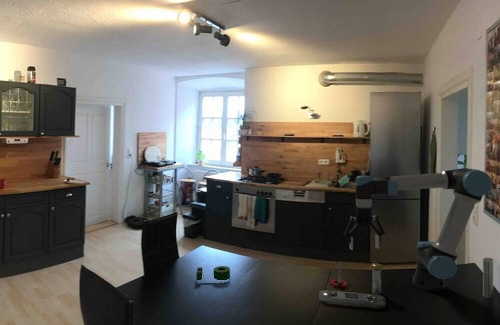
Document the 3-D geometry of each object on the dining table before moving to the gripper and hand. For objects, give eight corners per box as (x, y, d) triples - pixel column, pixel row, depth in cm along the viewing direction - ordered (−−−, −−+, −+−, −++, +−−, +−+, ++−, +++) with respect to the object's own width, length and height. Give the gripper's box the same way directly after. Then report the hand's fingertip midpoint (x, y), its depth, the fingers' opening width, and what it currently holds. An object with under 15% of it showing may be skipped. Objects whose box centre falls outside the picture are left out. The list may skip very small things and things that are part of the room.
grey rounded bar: (383, 301, 160) (383, 293, 160) (386, 309, 152) (386, 301, 152) (319, 295, 167) (319, 287, 166) (318, 302, 159) (318, 294, 159)
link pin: (381, 291, 171) (381, 263, 171) (383, 295, 166) (383, 267, 165) (370, 290, 172) (370, 262, 172) (371, 294, 167) (371, 266, 166)
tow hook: (330, 281, 185) (331, 287, 176) (330, 257, 185) (331, 262, 176) (345, 282, 184) (348, 288, 175) (346, 258, 184) (348, 263, 175)
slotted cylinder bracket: (229, 277, 191) (229, 265, 191) (230, 283, 182) (230, 271, 182) (197, 278, 190) (197, 266, 189) (196, 284, 181) (196, 272, 180)
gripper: (384, 204, 174) (384, 245, 175) (336, 206, 172) (337, 247, 173) (391, 207, 166) (391, 249, 167) (342, 209, 164) (342, 252, 165)
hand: (364, 248), depth 170 cm, fingers open, 13 cm apart
